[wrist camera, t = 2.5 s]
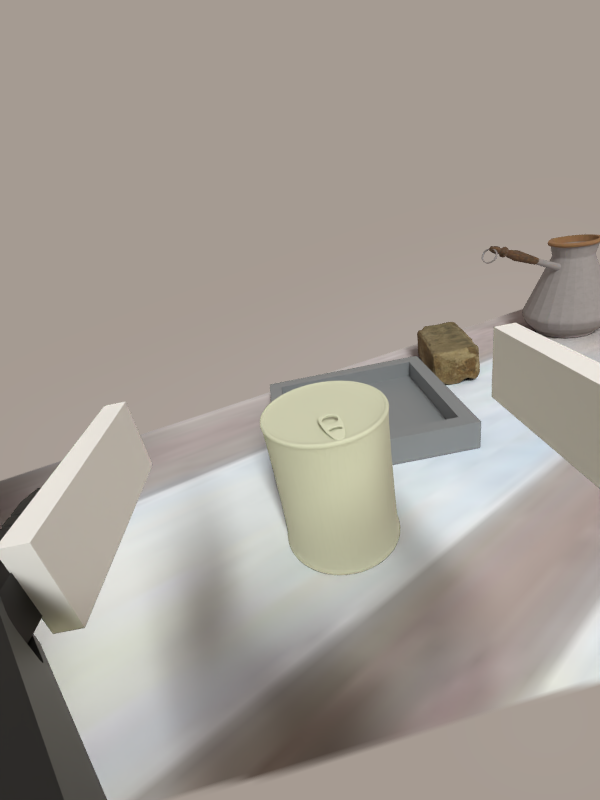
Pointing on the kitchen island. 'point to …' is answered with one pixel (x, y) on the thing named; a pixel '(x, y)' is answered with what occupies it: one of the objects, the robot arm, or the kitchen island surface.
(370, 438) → the can
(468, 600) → the kitchen island surface
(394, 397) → the tray
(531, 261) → the coffee pot
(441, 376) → the stone block
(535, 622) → the kitchen island surface
